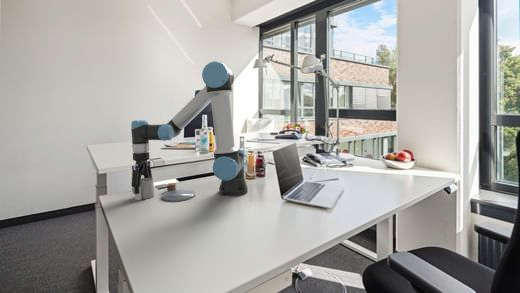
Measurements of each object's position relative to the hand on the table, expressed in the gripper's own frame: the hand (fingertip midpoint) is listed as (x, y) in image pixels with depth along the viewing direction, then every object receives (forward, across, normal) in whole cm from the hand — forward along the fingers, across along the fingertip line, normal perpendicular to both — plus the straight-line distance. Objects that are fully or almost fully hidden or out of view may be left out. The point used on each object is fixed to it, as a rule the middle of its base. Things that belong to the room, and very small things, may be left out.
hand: (143, 196), depth 141 cm
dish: (0, -3, +17) cm, 17 cm away
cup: (0, 0, 0) cm, 1 cm away
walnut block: (0, -11, +10) cm, 15 cm away
